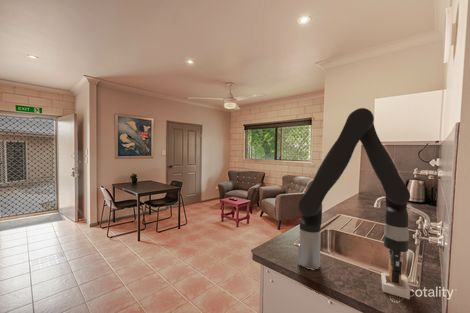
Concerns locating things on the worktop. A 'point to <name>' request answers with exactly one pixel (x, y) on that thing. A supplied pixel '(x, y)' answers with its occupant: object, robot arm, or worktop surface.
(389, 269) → the orange capsule
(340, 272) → the worktop surface
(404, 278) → the housing
